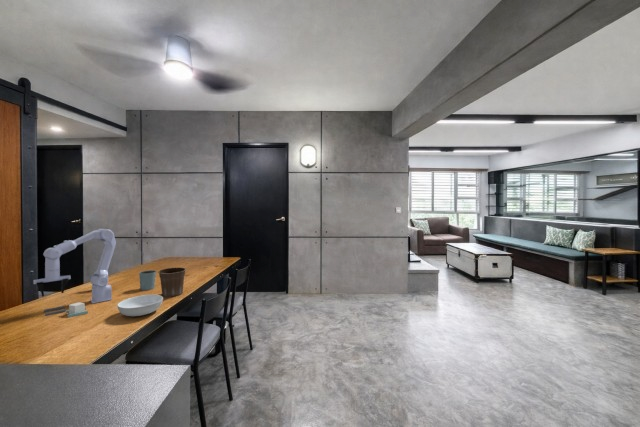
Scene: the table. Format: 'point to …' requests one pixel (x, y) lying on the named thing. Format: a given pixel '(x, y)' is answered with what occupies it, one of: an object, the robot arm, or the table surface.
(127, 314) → the serving bowl
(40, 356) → the table surface
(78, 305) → the grey cube
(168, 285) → the plant pot
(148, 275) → the drinking glass
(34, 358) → the table surface
